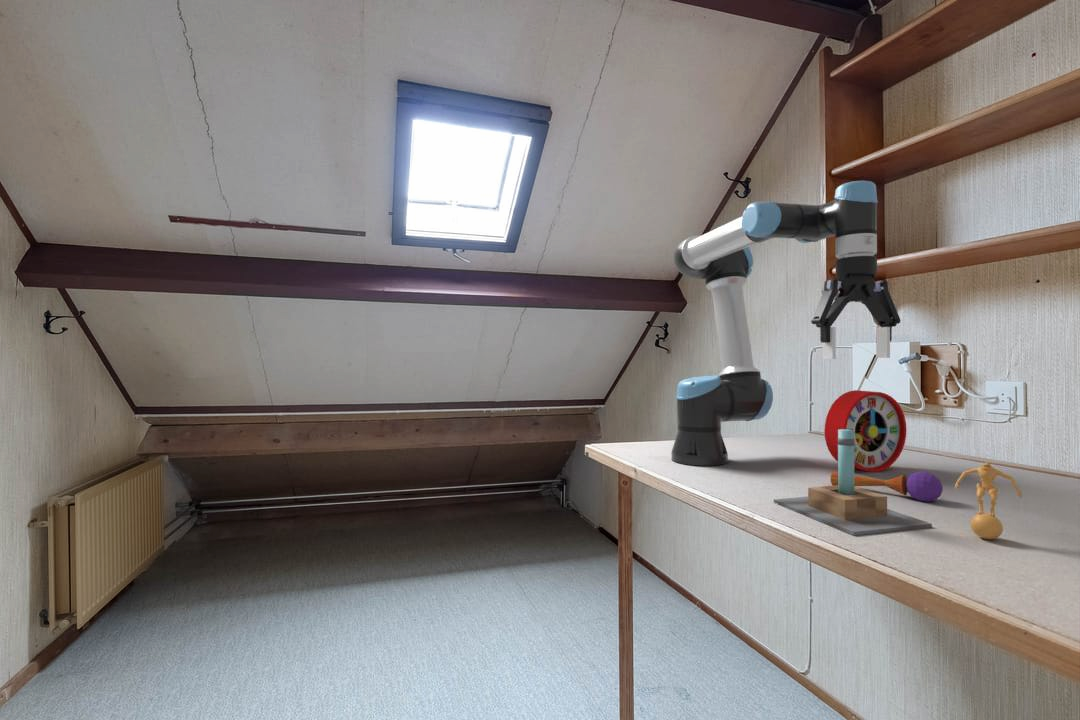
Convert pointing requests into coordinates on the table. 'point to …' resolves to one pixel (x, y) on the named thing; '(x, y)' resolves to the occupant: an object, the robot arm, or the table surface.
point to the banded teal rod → (846, 461)
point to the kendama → (904, 484)
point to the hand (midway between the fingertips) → (856, 358)
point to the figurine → (988, 523)
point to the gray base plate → (851, 511)
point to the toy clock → (868, 428)
